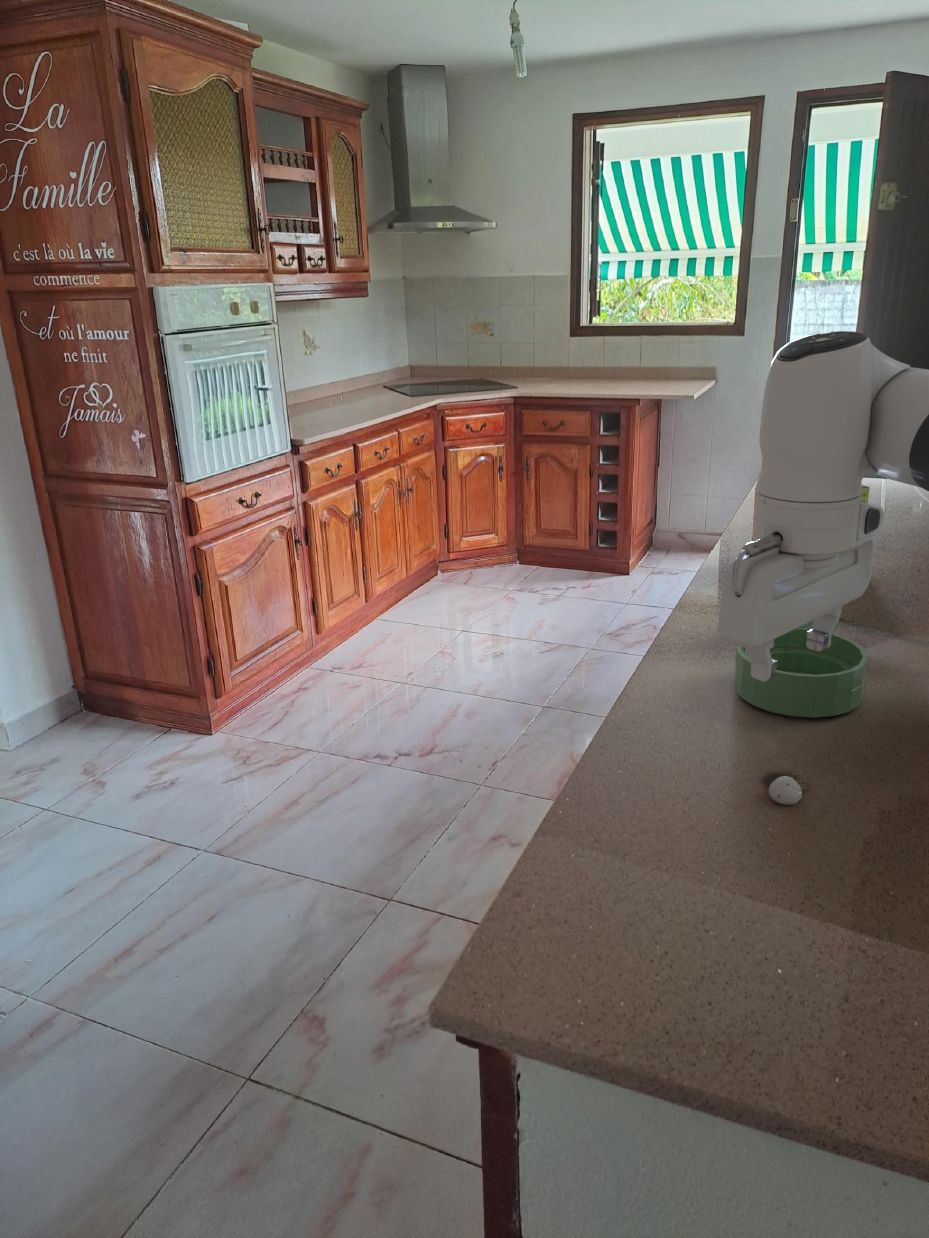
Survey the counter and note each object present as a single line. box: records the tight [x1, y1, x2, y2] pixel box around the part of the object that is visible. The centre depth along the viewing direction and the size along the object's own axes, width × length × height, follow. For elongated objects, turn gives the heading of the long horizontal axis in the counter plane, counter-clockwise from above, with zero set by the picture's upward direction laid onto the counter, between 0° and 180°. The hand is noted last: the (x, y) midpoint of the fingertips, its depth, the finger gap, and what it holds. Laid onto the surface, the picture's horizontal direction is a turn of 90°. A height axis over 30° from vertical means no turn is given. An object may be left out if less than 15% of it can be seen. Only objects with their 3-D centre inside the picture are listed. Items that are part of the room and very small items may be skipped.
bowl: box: [733, 628, 869, 718], centre depth 110 cm, size 15×15×6 cm
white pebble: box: [768, 770, 803, 806], centre depth 90 cm, size 3×4×3 cm
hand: (791, 662), depth 84 cm, fingers open, 8 cm apart
